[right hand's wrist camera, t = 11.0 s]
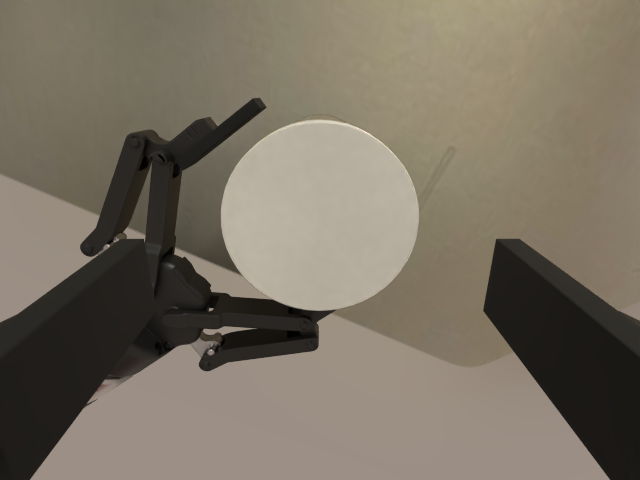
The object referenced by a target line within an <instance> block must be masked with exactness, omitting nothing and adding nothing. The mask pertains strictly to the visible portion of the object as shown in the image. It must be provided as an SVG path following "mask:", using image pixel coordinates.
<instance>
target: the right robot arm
mask: <svg viewBox="0 0 640 480" xmlns="http://www.w3.org/2000/svg"><path fill="white" fill-rule="evenodd" d="M156 311H157V310H156V304H155V298H154V293H153V287H152V282H151V276H150V271H149V265H148V260H147V254H146V248H145V243H144V239H120V240H119V241H117V242H116V243H115V244H113V245H112V246H110V247H109V248H108V249H106V250H105V251H104V252H102V253H101V254H99V255H98V256H97V257H95V258H94V259H93V260H91V261H90V262H89V263H87V264H86V265H84V266H83V267H82V268H80V269H79V270H78V271H76V272H75V273H73V274H72V275H71V276H69V277H68V278H67V279H65V280H64V281H63V282H61V283H60V284H58V285H57V286H56V287H54V288H53V289H52V290H50V291H49V292H47V293H46V294H45V295H43V296H42V297H41V298H39V299H38V300H37V301H35V302H34V303H32V304H31V305H30V306H28V307H27V308H26V309H24V310H23V311H22V312H20V313H19V314H17V315H15V316H13V317H11V318H9V319H7V320H4V321H2V322H0V480H30V479H31V477H32V476H33V475H34V473H35V472H36V471H37V469H38V468H39V467H40V465H41V464H42V463H43V461H44V460H45V459H46V457H47V456H48V455H49V453H50V452H51V451H52V449H53V448H54V447H55V445H56V444H57V443H58V441H59V440H60V439H61V437H62V436H63V435H64V433H65V432H66V431H67V429H68V428H69V427H70V425H71V424H72V423H73V421H74V420H75V419H76V417H77V416H78V415H79V413H80V412H81V411H82V409H83V408H84V407H85V405H86V404H87V403H88V401H89V400H90V399H91V398H92V396H93V395H94V394H95V392H96V391H97V390H98V388H99V387H100V386H101V384H102V383H103V382H104V380H105V379H106V378H107V376H108V375H109V374H110V372H111V371H112V370H113V368H114V367H115V366H116V364H117V363H118V362H119V360H120V359H121V358H122V356H123V355H124V354H125V352H126V351H127V350H128V348H129V347H130V346H131V344H132V343H133V342H134V340H135V339H136V338H137V336H138V335H139V334H140V332H141V331H142V330H143V328H144V327H145V326H146V324H147V323H148V322H149V320H150V319H151V318H152V316H153V315H154V314H155V312H156ZM483 311H484V312H485V314H486V315H487V316H488V318H489V319H490V320H491V322H492V323H493V324H494V326H495V327H496V328H497V330H498V331H499V332H500V334H501V335H502V336H503V338H504V339H505V340H506V342H507V343H508V344H509V346H510V347H511V348H512V350H513V351H514V352H515V354H516V355H517V356H518V357H519V359H520V360H521V362H522V363H523V364H524V366H525V367H526V368H527V369H528V371H529V372H530V374H531V375H532V376H533V377H534V379H535V380H536V381H537V383H538V384H539V386H540V387H541V388H542V389H543V391H544V392H545V393H546V395H547V396H548V398H549V399H550V400H551V401H552V403H553V404H554V405H555V407H556V408H557V409H558V411H559V412H560V413H561V415H562V416H563V417H564V419H565V420H566V421H567V423H568V424H569V425H570V427H571V428H572V429H573V431H574V432H575V433H576V435H577V436H578V437H579V439H580V440H581V441H582V443H583V444H584V445H585V447H586V448H587V449H588V451H589V452H590V453H591V455H592V456H593V457H594V459H595V460H596V461H597V463H598V464H599V465H600V467H601V468H602V469H603V471H604V472H605V473H606V475H607V476H608V477H609V479H610V480H640V321H639V320H637V319H635V318H633V317H630V316H628V315H626V314H624V313H622V312H620V311H617V310H616V309H614V308H613V307H612V306H610V305H609V304H608V303H606V302H605V301H603V300H602V299H601V298H599V297H598V296H597V295H595V294H594V293H593V292H591V291H590V290H588V289H587V288H586V287H584V286H583V285H582V284H580V283H579V282H577V281H576V280H575V279H573V278H572V277H571V276H569V275H568V274H567V273H565V272H564V271H562V270H561V269H560V268H558V267H557V266H556V265H554V264H553V263H551V262H550V261H549V260H547V259H546V258H545V257H543V256H542V255H541V254H539V253H538V252H536V251H535V250H534V249H532V248H531V247H530V246H528V245H527V244H525V243H524V242H523V241H521V240H520V239H496V243H495V248H494V254H493V260H492V265H491V271H490V276H489V282H488V287H487V293H486V298H485V304H484V310H483Z"/></svg>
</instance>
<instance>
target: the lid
mask: <svg viewBox="0 0 640 480" xmlns="http://www.w3.org/2000/svg"><path fill="white" fill-rule="evenodd" d="M418 226H419V209H418V200H417V196H416V192H415V188H414V186H413V183H412V181H411V178H410V176H409V174H408V173H407V171H406V169H405V167H404V166H403V164H402V163H401V162H400V161H399V159H398V158H397V157H396V155H395V154H394V153H393V152H392V151H391V150H389V149H388V148H387V147H386V146H385V145H384V144H383V143H382V142H380V141H379V140H378V139H376V138H375V137H373V136H372V135H371V134H369V133H367V132H365V131H363V130H362V129H360V128H358V127H355V126H352V125H349V124H347V123H342V122H338V121H332V120H307V121H302V122H297V123H293V124H290V125H288V126H285V127H282V128H280V129H278V130H276V131H274V132H272V133H271V134H269V135H268V136H266V137H265V138H263V139H262V140H261V141H259V142H258V143H257V144H256V145H254V146H253V147H252V148H251V149H250V150H249V151H248V152H247V153H246V154H245V155H244V156H243V158H242V159H241V160H240V161H239V163H238V164H237V165H236V167H235V169H234V170H233V172H232V174H231V175H230V178H229V180H228V182H227V185H226V187H225V191H224V195H223V199H222V206H221V228H222V234H223V238H224V242H225V245H226V248H227V251H228V253H229V255H230V257H231V259H232V261H233V263H234V264H235V266H236V267H237V269H238V270H239V272H240V273H241V274H242V275H243V276H244V278H245V279H246V280H247V281H248V282H249V283H250V284H251V285H253V286H254V287H255V288H256V289H257V290H259V291H260V292H261V293H263V294H264V295H266V296H268V297H269V298H271V299H273V300H275V301H277V302H280V303H282V304H284V305H288V306H291V307H294V308H299V309H304V310H315V311H325V310H335V309H341V308H345V307H349V306H352V305H355V304H358V303H360V302H362V301H365V300H367V299H368V298H370V297H372V296H374V295H376V294H377V293H378V292H380V291H381V290H382V289H384V288H385V287H386V286H387V285H388V284H389V283H390V282H391V281H393V280H394V278H395V277H396V276H397V275H398V274H399V272H400V271H401V270H402V268H403V267H404V265H405V264H406V262H407V261H408V258H409V256H410V254H411V252H412V250H413V247H414V244H415V241H416V238H417V232H418Z"/></svg>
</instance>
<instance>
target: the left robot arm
mask: <svg viewBox="0 0 640 480" xmlns="http://www.w3.org/2000/svg"><path fill="white" fill-rule="evenodd" d="M265 108H267V107H266V106H265V105H264V103H263V102H262V100H261V99H260V98H253V99H252V100H250V101H249V102H248V103H247V104H245V105H244V106H243V107H242V108H240V109H239V110H238V111H237V112H235V113H234V114H233V115H232V116H231V117H229V118H228V119H227V120H226V121H224V122H223V123H222V124H221V125H219V126H217V125H216V124H215V123H214V121H213V120H212V119H211V117H207V118H203V119H199V120H196V121H195V122H193V123H192V124H191V125H190V126H189V127H187V128H186V129H185V130H184V131H182V132H181V133H180V134H179V135H178V136H176V137H175V138H174V139H173V140H171V141H170V142H169V141H165V140H164V139H162V138H160V137H159V136H158V134H157V133H156V132H155V131H153V130H144V131H139V132H135V133H130V134H129V135H128V136H127V137H126V139H125V142H124V145H123V148H122V151H121V154H120V157H119V160H118V163H117V166H116V169H115V172H114V175H113V178H112V181H111V184H110V187H109V190H108V193H107V196H106V199H105V202H104V205H103V208H102V211H101V214H100V217H99V220H98V223H97V227H96V229H95V230H94V231H93V232H92V233H91V234H90V235H89V236H88V237H87V238H86V239H85V240H84V241H83V242H82V244H81V245H80V249H81V251H82V253H83V254H84V255H86V256H90V257H92V256H95V255H96V254H98V255H99V254H101V253H102V252H104V251H105V250H106V249H108V248H109V247H110V246H112V245H113V244H115V243H116V242H117V241H119V240H120V239H126V238H127V236H126V234H125V233H123V231H124V230H125V229H126V228H127V226H128V225H129V222H130V220H131V218H132V215H133V212H134V210H135V207H136V204H137V201H138V199H139V196H140V193H141V190H142V188H143V185H144V182H145V179H146V177H147V174H148V171H149V168H150V166H151V163H152V172H151V183H150V194H149V205H148V216H147V227H146V238H145V248H146V254H147V260H148V265H149V271H150V276H151V282H152V287H153V293H154V298H155V304H156V310H157V311H156V312H155V314H154V315H153V316H152V318H151V319H150V320H149V322H148V323H147V324H146V326H145V327H144V328H143V330H142V331H141V332H140V334H139V335H138V336H137V338H136V339H135V340H134V342H133V343H132V344H131V346H130V347H129V348H128V350H127V351H126V352H125V354H124V355H123V356H122V358H121V359H120V360H119V362H118V363H117V364H116V366H115V367H114V368H113V370H112V371H111V372H110V374H109V375H108V376H107V378H106V379H105V380H104V382H103V383H102V384H101V386H100V387H99V388H98V390H97V391H96V392H95V394H94V395H93V396H92V398H91V399H90V400H89V401H88V403H87V404H86V405H85V407H86V406H88V405H89V404H91V403H92V402H94V401H95V400H97V399H98V398H100V397H101V396H103V395H104V394H106V393H108V392H109V391H111V390H112V389H114V388H115V387H117V386H119V385H120V384H122V383H123V382H125V381H126V380H128V379H129V378H131V377H132V376H133V375H134V374H136V373H138V372H140V371H141V370H143V369H144V368H146V367H147V366H149V365H150V364H152V363H153V362H155V361H156V360H158V359H160V358H161V357H163V356H164V355H166V354H167V353H168V352H170V351H171V350H172V349H174V348H175V347H177V346H180V345H186V344H191V345H192V347H193V348H194V349H195V350H196V352H197V353H198V354H199V355H200V356H201V360H200V362H199V367H200V368H201V369H202V370H204V371H211V370H213V369H215V368H217V367H219V366H221V365H223V364H225V363H227V362H234V361H241V360H249V359H257V358H264V357H272V356H279V355H287V354H295V353H302V352H310V351H314V350H316V349H317V348H318V341H319V327H318V324H317V322H318V321H319V320H321V319H322V318H324V317H325V316H327V315H329V314H330V313H332V312H334V311H335V310H337V309H335V310H325V311H315V310H304V309H299V308H294V307H291V306H288V305H284V304H282V303H280V302H277V301H275V300H269V299H256V298H241V297H231V296H230V295H229V294H226V293H215V292H211V290H210V287H211V284H210V283H209V282H208V281H207V280H206V279H205V278H204V277H202V276H201V275H199V274H198V273H196V271H195V269H194V268H193V266H192V264H191V263H190V262H189V261H188V260H187V258H186V257H183V258H181V257H179V256H177V255H174V251H175V243H176V236H175V226H176V217H177V209H178V201H179V192H180V184H181V176H182V170H185V169H186V168H188V167H190V166H192V165H194V164H195V163H197V162H198V161H199V160H200V159H202V158H203V157H204V156H206V155H207V154H208V153H209V152H211V151H212V150H213V149H214V148H216V147H217V146H218V145H220V144H221V143H222V142H223V141H225V140H226V139H227V138H228V137H230V136H231V135H232V134H234V133H235V132H236V131H237V130H239V129H240V128H241V127H242V126H244V125H245V124H246V123H247V122H249V121H250V120H251V119H253V118H254V117H255V116H256V115H258V114H259V113H260V112H261V111H263V110H264V109H265ZM209 308H214V309H213V310H212V311H209ZM208 311H209V312H208ZM223 326H231V327H245V328H258V329H250V330H243V331H236V332H231V333H228V334H225V335H221V333H216V334H214V335H207V334H205V333H204V332H203V329H219V328H221V327H223ZM85 407H84V408H85Z"/></svg>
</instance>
